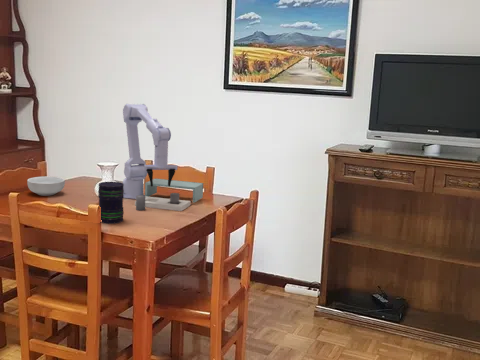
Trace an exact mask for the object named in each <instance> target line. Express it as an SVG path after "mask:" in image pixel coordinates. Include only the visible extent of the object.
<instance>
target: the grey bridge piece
mask: <svg viewBox="0 0 480 360" xmlns="http://www.w3.org/2000/svg"><path fill="white" fill-rule="evenodd" d="M144 186H145V187H144V195H145V196H148V197H152V196H153V195H155V194H158V187H162V188H163V187H165V188H173V189H182V190H183V189H184V190H192V203H196V202H198V201H200V200H201V199H203V198H204V197H203V196H204V182H194V181H184V180H176V179H172V180H171V184H170V186H168V179H164V178H156V177H155V178H153V186H151V184H150V180H149V181H145V184H144Z"/></svg>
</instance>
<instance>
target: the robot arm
mask: <svg viewBox="0 0 480 360" xmlns="http://www.w3.org/2000/svg"><path fill="white" fill-rule="evenodd" d="M122 118H123V122H124V123H125V124H126V125H125V126H126V134H127V135H126V136H127V145H128V146H127V147H128V154H129V157H128V160H127V161H125V162H124V170H123V174H124V177H125V178H124V179H123V180H122V183H123V184H124V186H123V188H124V193H123V195H124V196H123V199H134V200H136V196H137V195H144V196H145V194H144V180H145V179H146V177H147V176H148V179H149V181H150V184H151V186H153V179H154V177H153V175H154V171H161V170H162V171H167V173H168V174H167V175H168V177H167V178H168V179H167V180H168V186H170V184H171V180H173V178H174V176H175V173H176V171H178V165H177V164H168V163H169V162H168V157H169V154H168V153H169V151H168V150H169V141H170V140H171V137H172V132H171V130H170V128H169V127H164V126H163V125H162V123H160V121H158V119H157V118H153V117H152V116H151V114H150V113H149V111H148V106H147V105H146V104H145V103H140V104H139V103H137V104H135V103H126V104H124V106H123V108H122ZM142 121H143V122H144V123H145V127H146V129H147V130H148V131H149V132H150V133H151V137H152V139H153V146H154V161H153V162H154V164H147V163H146V160H144V159H143V158H142V157H141V149H140V140H139V130H138V129H139V128H138V125H139V123H142Z"/></svg>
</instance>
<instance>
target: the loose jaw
mask: <svg viewBox="0 0 480 360" xmlns="http://www.w3.org/2000/svg"><path fill="white" fill-rule="evenodd" d="M144 195H145V194H143V195H137V196H136V199H135V201H136V206H135V210H136V211H138V212H139V211H141V212H143V211H146V207H145V198H146V196H144Z"/></svg>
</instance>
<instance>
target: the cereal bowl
mask: <svg viewBox="0 0 480 360" xmlns="http://www.w3.org/2000/svg"><path fill="white" fill-rule="evenodd" d="M65 184H66V180H65V178H64V177H61V176H50V175H48V176H45V175H44V176H35V177H30V178H28V179H27V187H28V189H29V190H30V191H31V192H32V193H35V194H37V195H38V196H45V197H47V196H49V197H50V196H54V195H56V194H57V193H59V192H61V191H62V190H63V189H64V188H65V186H66V185H65Z"/></svg>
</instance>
